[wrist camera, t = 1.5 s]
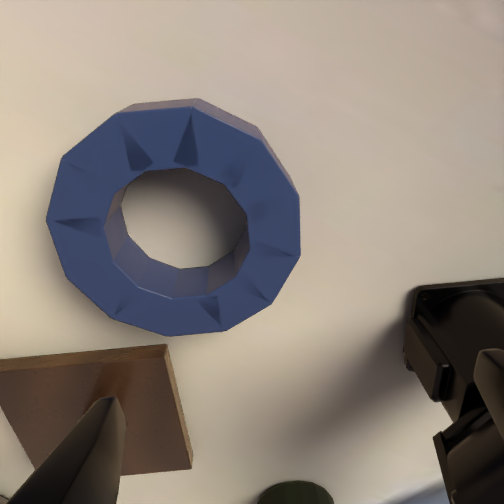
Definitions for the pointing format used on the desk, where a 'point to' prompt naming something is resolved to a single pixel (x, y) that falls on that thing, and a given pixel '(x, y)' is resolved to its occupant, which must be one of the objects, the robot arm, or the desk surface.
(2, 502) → the phone
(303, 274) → the desk surface
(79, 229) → the ring
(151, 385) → the post
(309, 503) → the potion bottle
